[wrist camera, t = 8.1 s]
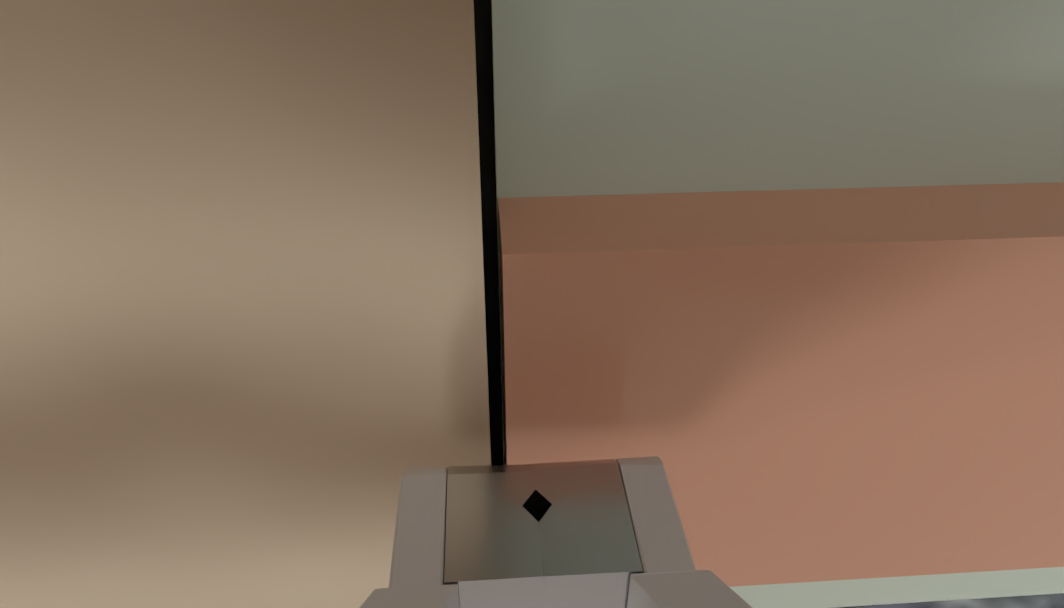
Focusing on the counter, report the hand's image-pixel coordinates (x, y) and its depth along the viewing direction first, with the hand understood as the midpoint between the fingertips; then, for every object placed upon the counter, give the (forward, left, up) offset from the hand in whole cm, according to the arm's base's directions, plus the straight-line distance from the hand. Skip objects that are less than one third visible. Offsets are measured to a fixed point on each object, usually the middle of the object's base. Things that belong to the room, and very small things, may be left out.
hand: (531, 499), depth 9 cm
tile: (0, -4, -2) cm, 5 cm away
